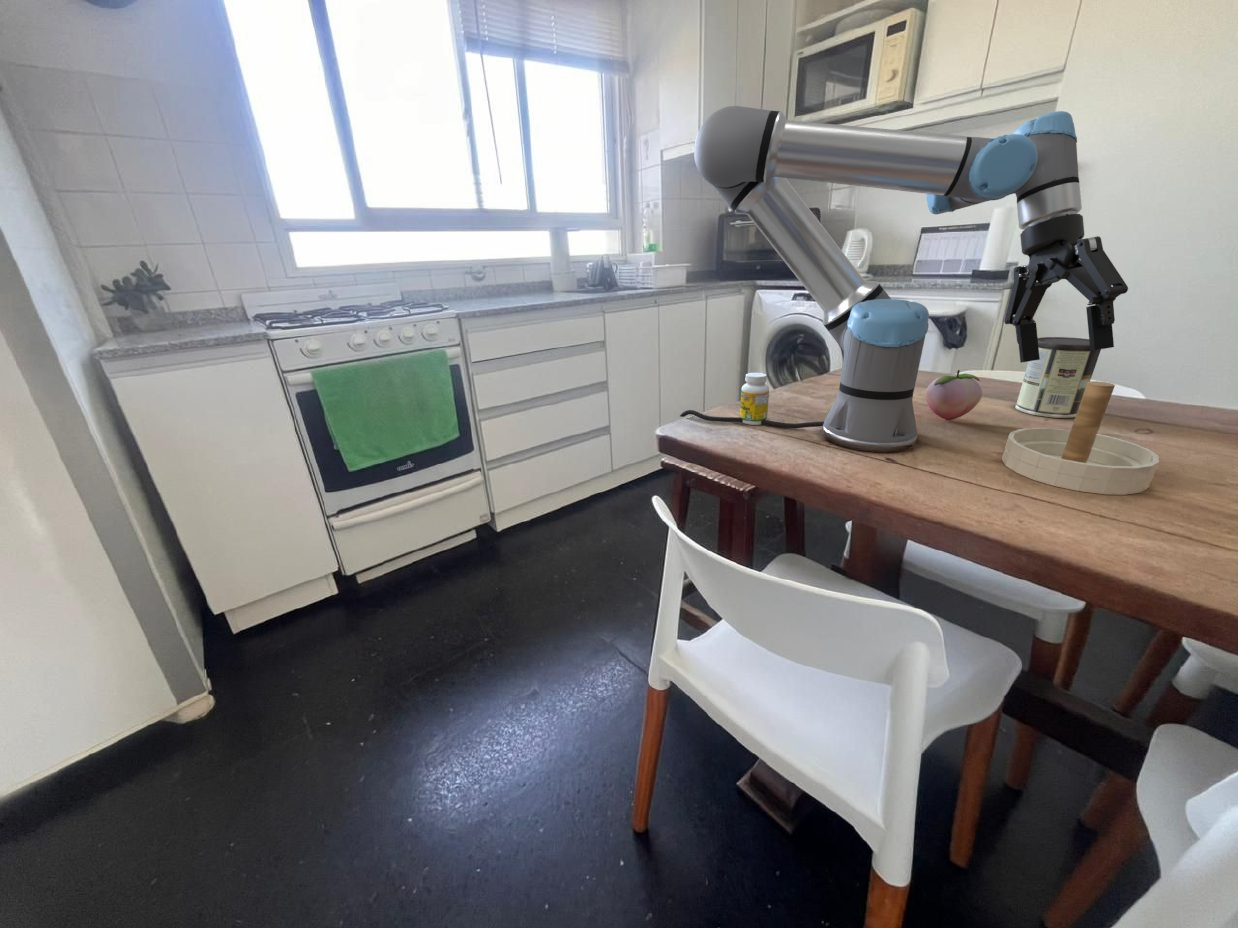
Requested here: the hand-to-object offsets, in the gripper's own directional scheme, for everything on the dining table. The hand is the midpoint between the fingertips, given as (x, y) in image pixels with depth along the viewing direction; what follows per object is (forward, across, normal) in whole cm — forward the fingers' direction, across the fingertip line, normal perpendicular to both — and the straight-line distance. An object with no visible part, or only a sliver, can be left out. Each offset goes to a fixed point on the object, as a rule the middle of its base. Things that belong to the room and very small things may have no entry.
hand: (1063, 356), depth 80 cm
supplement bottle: (+3, +18, +47) cm, 50 cm away
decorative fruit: (+9, +16, +10) cm, 21 cm away
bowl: (+17, -9, +8) cm, 21 cm away
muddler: (+17, -9, +8) cm, 20 cm away
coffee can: (+11, +21, -13) cm, 27 cm away
